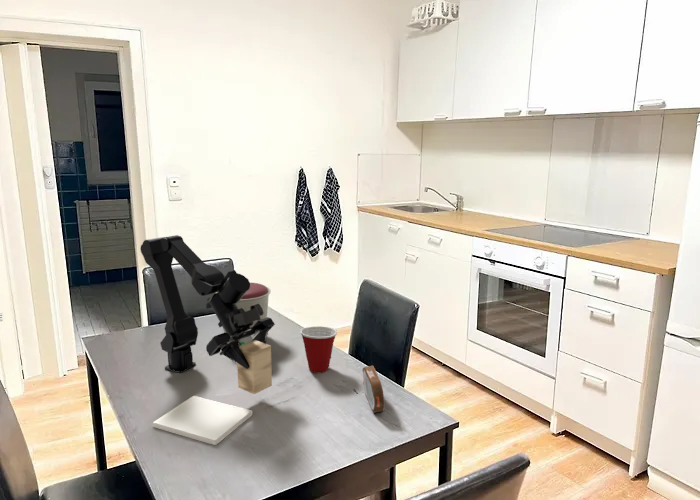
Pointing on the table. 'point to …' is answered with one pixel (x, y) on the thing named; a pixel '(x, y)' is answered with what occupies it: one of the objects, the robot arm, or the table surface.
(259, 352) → the wooden block
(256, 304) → the robot arm
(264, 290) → the canister
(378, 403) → the tin
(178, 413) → the cutting board
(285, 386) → the table surface
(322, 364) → the plastic cup
